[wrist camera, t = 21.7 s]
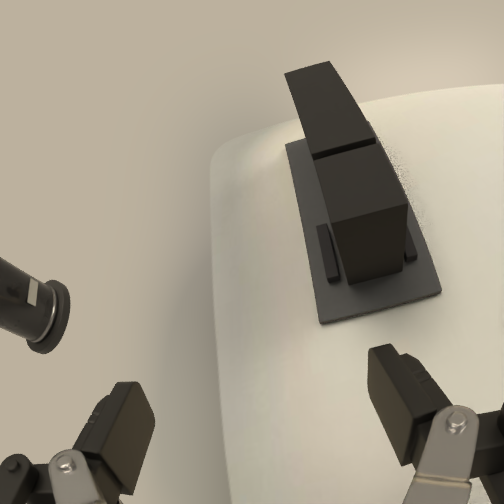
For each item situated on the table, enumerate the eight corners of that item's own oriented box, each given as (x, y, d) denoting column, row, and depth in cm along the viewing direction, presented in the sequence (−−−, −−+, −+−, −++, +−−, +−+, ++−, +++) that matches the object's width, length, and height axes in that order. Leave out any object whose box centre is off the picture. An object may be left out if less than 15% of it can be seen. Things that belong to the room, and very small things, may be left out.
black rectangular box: (348, 285, 24) (330, 223, 16) (335, 232, 26) (313, 160, 19) (402, 271, 22) (408, 203, 15) (385, 219, 25) (379, 142, 18)
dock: (320, 324, 24) (287, 276, 16) (286, 147, 34) (255, 80, 27) (441, 293, 21) (468, 227, 13) (369, 124, 32) (354, 52, 24)
